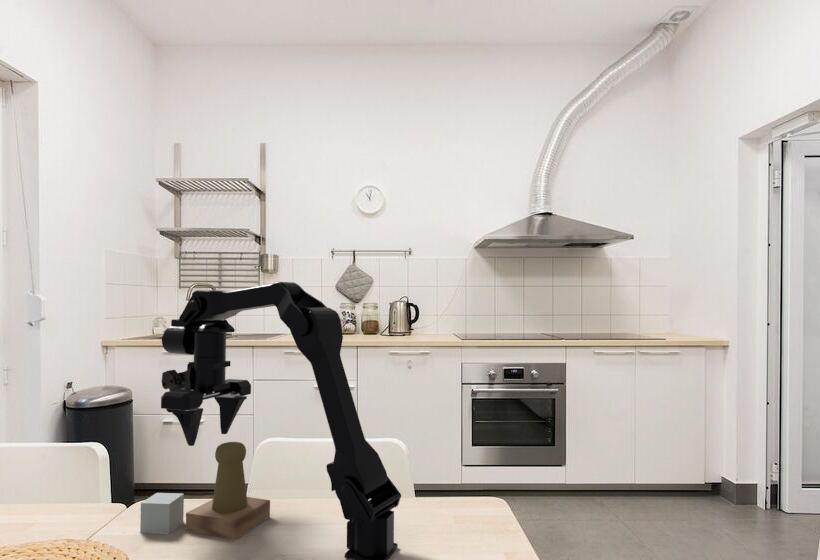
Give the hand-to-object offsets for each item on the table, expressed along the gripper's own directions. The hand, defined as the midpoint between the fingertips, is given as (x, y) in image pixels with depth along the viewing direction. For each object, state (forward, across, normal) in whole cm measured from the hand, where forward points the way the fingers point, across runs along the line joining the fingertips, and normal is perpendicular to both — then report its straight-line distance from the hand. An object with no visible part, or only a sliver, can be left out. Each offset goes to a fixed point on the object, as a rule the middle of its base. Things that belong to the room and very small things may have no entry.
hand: (208, 439), depth 103 cm
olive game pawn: (+10, +4, +8) cm, 14 cm away
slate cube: (+13, +9, -2) cm, 16 cm away
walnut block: (+13, +4, +8) cm, 16 cm away
